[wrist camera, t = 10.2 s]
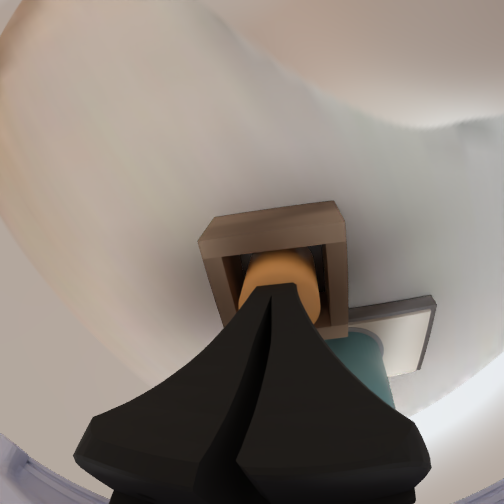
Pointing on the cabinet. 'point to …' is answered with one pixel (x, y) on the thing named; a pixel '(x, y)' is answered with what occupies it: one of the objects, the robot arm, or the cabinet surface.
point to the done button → (285, 275)
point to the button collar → (276, 238)
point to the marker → (364, 362)
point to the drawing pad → (397, 331)
